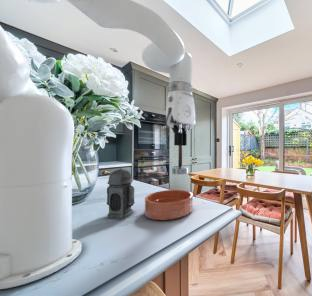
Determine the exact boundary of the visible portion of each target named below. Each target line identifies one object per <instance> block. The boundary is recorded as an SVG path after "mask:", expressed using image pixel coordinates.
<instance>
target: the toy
mask: <svg viewBox="0 0 312 296" xmlns="http://www.w3.org/2000/svg"><path fill="white" fill-rule="evenodd" d="M133 182H134V180H133V178H132V173H131V172H130V171H129V170H127V169H123V168H119V169H116V170H114V171H112V172H111V173H110V174H109V176H108V180H107V185H108V186H107V188H106V205H107V206H108V213H107V218H108V219H120V220H121V219H126V218H128V217H130V216H131V215H132V214H133V212H134V209H132V207H133V206H134V204H135V187H134V186H133V185H132V183H133Z"/></svg>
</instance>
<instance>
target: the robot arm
mask: <svg viewBox="0 0 312 296" xmlns="http://www.w3.org/2000/svg"><path fill="white" fill-rule="evenodd" d="M24 1H27V2H32V3H40V4H56V3H59V2H60V1H61V0H24ZM66 2H68V3H69V4H71V5H72V6H74V8H76V9H77V10H78V11H80V12H81V13H82V14H84V15H85V16H86V17H87V18H88V19H90V20H91V21H92V22H94V23H95V24H97V25H98V26H99V27H101V28H104V29H120V30H129V31H132V32H135V33H138V34H140V35H142V36H143V37H145V38H147V39H148V40H150V41H151V43H149V44H148V45H147V46H146V47H144V48H143V50H142V52H141V58H142V61H143V64H144V65H145V66H146V67H148V68H149V70H153V71H155V72H159V73H163V74H168V75H169V82H168V87H169V92H168V94H167V98H166V106H165V107H166V108H165V120H166V126H168V127H169V128H170V129H171V130H172V133H173V136H174V137H173V145H174V146H179V145H180V146H182V147H183V146H187V142H188V141H187V140H188V138H187V137H188V134H189V131H190V130H192V129H193V126H195V125H196V105H195V99H194V97H193V84H194V83H193V81H194V79H193V75H194V70H193V69H194V60H193V57H192V55H191V54H190V53H189V52H187V51H186V48H185V45H184V42H183V40H182V39H181V37H180V36H179V34H178V33H177V32H176V31H175V30H174V29H173V27H171V26H170V24H169V23H168V22H167V21H166V20H165V19H164V18H163V17H162V16H161V15H159V14H158V13H157V12H155V11H154V10H152V9H150V8H148V7H147V6H145V5H143V4H142V3H141V4H140V3H139V2H137V1H134V0H66ZM30 75H31V67H30V63H29V62H28V59H27V58H26V56H25V55H24V53H23V52H22V51H21V50H20V49H19V47H18V46H17V44H16V43H15V42H14V41H13V40H12V39H11V38H10V36H9V34H8V33H7V32H6V31H5V29H4V28H3V27H2V25H1V24H0V290H5V289H11V288H15V287H19V286H22V285H23V286H24V285H26V284H29V283H33V282H36V281H38V280H40V279H43V278H46V277H47V276H50V275H52V274H54V273H56V272H58V271H60V270H61V269H63V268H64V267H66V266H68V265H69V264H71V263H72V262H73V261H74V260H76V259H77V258H78V257H79V256H80V254H81V252H82V250H83V243H82V241H80V240H78V239H76V238H75V239H74V238H73V167H72V166H73V150H74V149H73V148H74V139H75V121H74V118H73V116H72V114H71V112H70V111H69V109H68V108H67V107H66V106H65V105H64V104H62V103H61V102H60V101H58V100H56V99H55V98H52V97H50V96H47V95H44V94H42V92H41V91H40V90H39V88H38V87H37V86H36V84H35V83H34V81H33V80H32V79H31V78H30ZM181 132H182V133H181Z"/></svg>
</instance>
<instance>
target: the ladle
mask: <svg viewBox="0 0 312 296" xmlns="http://www.w3.org/2000/svg"><path fill="white" fill-rule="evenodd" d="M181 133H182V132H181ZM177 158H178V165H177V166H174V167H171V168H172V169H171V174H172V175H186V174H188V173H189V167H187V166H183V146H180V145H178V157H177Z"/></svg>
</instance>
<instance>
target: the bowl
mask: <svg viewBox="0 0 312 296" xmlns="http://www.w3.org/2000/svg"><path fill="white" fill-rule="evenodd" d="M193 197H194V196H193V193H192V192H191V191H188V190H184V189H166V190H160V191H155V192H152V193H150V194H147V195H146V196H145V197H144V215H145V217H146V218H148V219H151V220H155V221H167V220H174V219H179V218H182V217H185V216H187V215H188V214H190V213H192V211H193V201H194V200H193V199H194V198H193Z"/></svg>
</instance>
